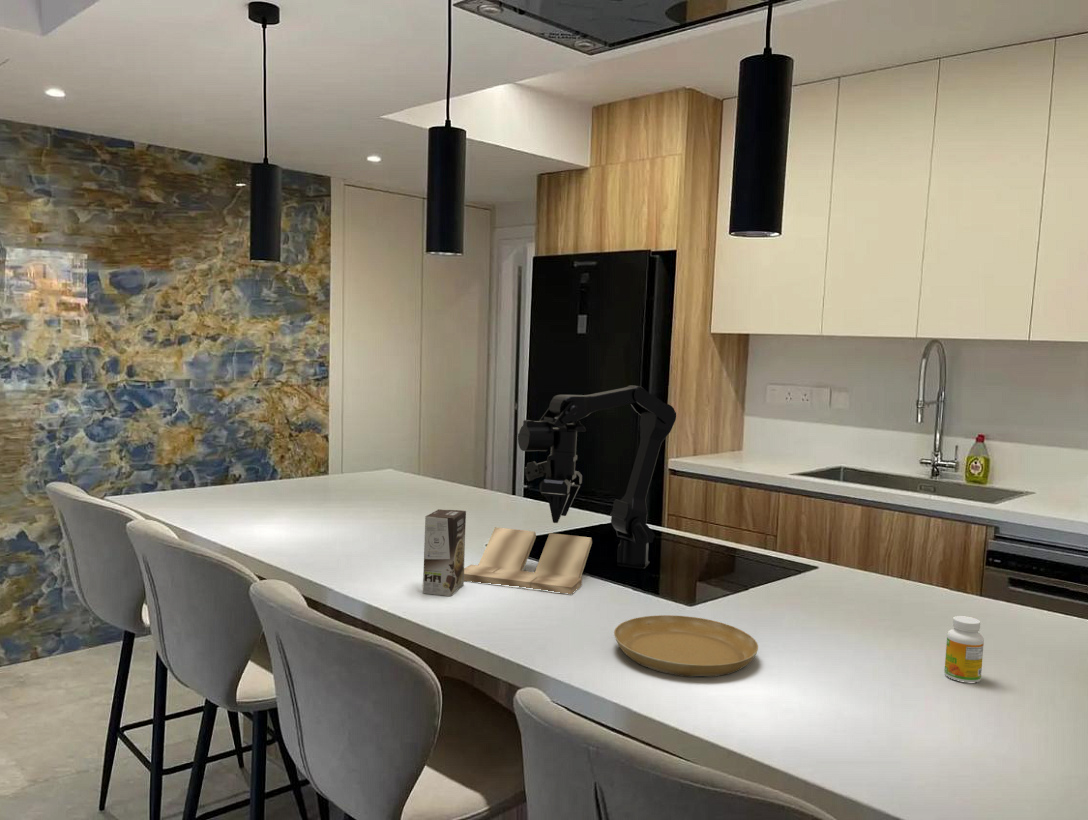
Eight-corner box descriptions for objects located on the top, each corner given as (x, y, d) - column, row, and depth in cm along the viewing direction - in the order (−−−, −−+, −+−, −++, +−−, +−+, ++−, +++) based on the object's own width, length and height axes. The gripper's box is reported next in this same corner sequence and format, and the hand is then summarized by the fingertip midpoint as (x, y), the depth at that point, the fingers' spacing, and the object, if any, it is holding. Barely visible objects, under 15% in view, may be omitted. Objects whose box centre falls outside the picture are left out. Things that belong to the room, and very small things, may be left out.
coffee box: (451, 596, 175) (454, 518, 174) (421, 593, 177) (423, 515, 175) (464, 585, 184) (467, 510, 183) (436, 582, 186) (438, 507, 184)
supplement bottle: (937, 671, 143) (941, 614, 143) (968, 671, 144) (972, 614, 143) (955, 684, 138) (960, 624, 137) (987, 684, 139) (992, 625, 138)
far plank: (536, 536, 202) (535, 531, 201) (520, 575, 193) (519, 570, 192) (496, 531, 205) (495, 527, 204) (479, 570, 196) (478, 565, 195)
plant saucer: (785, 677, 139) (787, 657, 139) (647, 689, 132) (648, 668, 132) (714, 629, 162) (715, 611, 162) (593, 636, 155) (594, 618, 155)
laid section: (581, 585, 187) (582, 577, 187) (571, 595, 180) (571, 587, 180) (470, 571, 195) (471, 564, 195) (456, 580, 188) (456, 572, 188)
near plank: (592, 542, 198) (591, 537, 197) (579, 582, 189) (578, 577, 188) (550, 537, 201) (549, 533, 200) (535, 577, 192) (534, 572, 191)
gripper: (538, 444, 206) (534, 509, 207) (518, 452, 188) (514, 523, 189) (584, 448, 204) (580, 513, 205) (568, 456, 186) (564, 528, 187)
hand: (559, 519), depth 196 cm, fingers open, 9 cm apart
